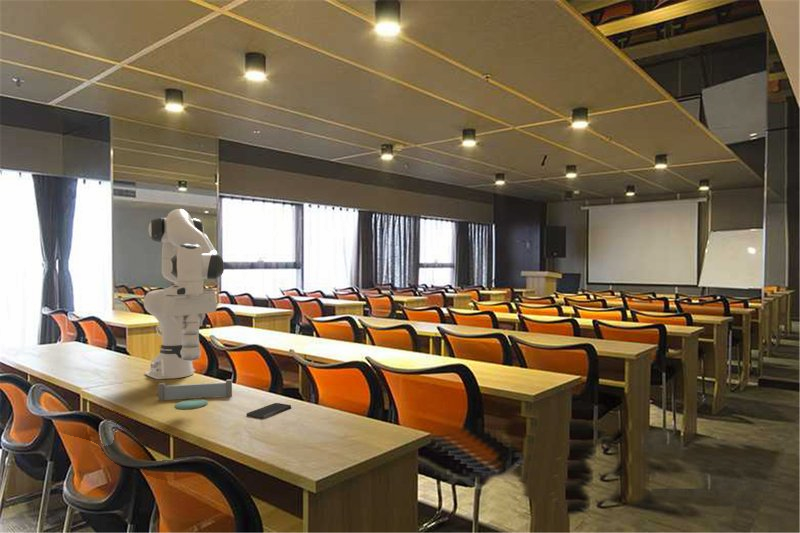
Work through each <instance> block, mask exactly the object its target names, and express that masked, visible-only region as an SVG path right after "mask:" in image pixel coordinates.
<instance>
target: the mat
mask: <svg viewBox="0 0 800 533" xmlns="http://www.w3.org/2000/svg"><path fill="white" fill-rule="evenodd" d="M207 405H208V401H207V400H205V399H188V400H184V401H180V402H177V403H175V404H174V408H175V409H178V410H194V409H199V408H204V407H206V406H207Z"/></svg>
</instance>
